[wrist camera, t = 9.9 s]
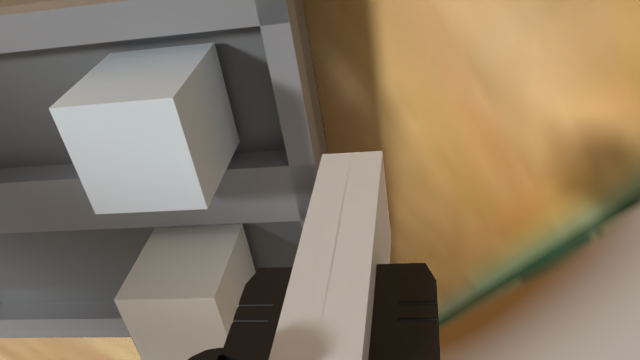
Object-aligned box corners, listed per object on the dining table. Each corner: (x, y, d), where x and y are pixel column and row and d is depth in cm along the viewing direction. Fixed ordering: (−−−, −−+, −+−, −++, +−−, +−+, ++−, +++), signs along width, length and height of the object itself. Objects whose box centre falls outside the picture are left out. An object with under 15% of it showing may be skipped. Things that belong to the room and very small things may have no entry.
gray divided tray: (-5, 300, 33) (-36, 339, 30) (-178, 20, 24) (-240, 45, 22) (350, 293, 29) (345, 337, 27) (296, -40, 20) (281, -18, 18)
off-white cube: (180, 293, 28) (146, 369, 24) (155, 227, 26) (113, 300, 22) (261, 291, 27) (238, 369, 23) (242, 223, 25) (214, 298, 21)
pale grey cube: (143, 147, 23) (95, 214, 20) (110, 53, 21) (48, 108, 18) (239, 141, 23) (207, 209, 19) (214, 42, 20) (172, 97, 17)
